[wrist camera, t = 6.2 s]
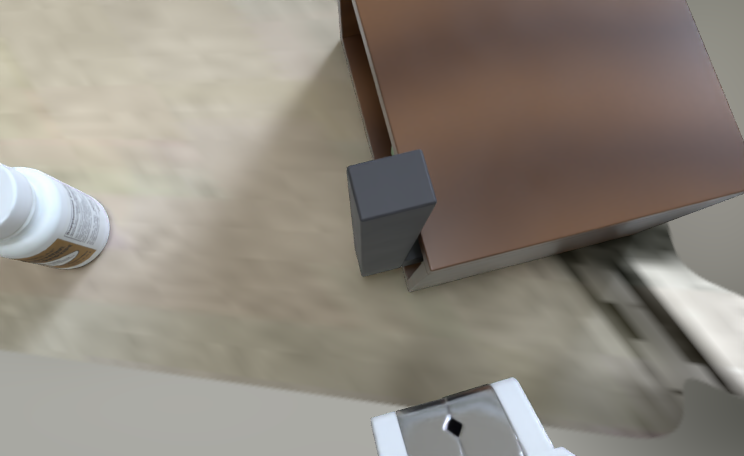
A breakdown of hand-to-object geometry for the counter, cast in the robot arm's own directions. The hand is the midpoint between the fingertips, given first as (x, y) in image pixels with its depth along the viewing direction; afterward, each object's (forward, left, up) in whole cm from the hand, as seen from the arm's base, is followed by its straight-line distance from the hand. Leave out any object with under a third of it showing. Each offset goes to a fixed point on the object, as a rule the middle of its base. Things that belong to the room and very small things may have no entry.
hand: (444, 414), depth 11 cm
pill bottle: (+12, +16, -19) cm, 27 cm away
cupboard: (+12, -9, -19) cm, 24 cm away
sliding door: (+8, -1, -17) cm, 19 cm away
